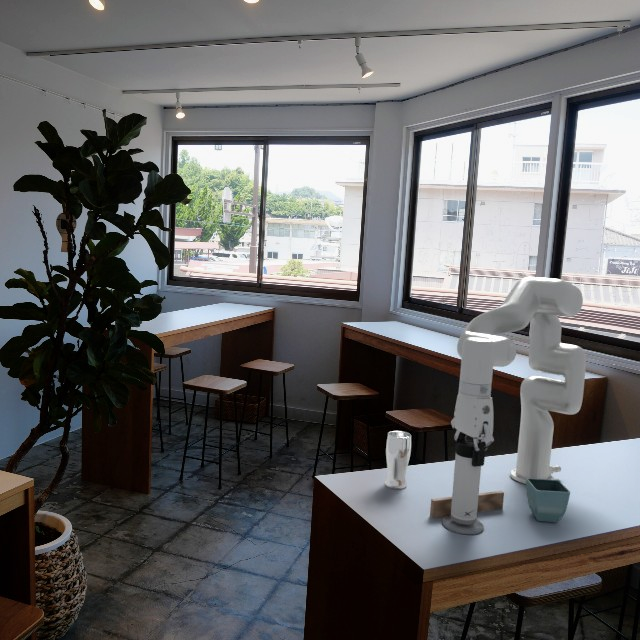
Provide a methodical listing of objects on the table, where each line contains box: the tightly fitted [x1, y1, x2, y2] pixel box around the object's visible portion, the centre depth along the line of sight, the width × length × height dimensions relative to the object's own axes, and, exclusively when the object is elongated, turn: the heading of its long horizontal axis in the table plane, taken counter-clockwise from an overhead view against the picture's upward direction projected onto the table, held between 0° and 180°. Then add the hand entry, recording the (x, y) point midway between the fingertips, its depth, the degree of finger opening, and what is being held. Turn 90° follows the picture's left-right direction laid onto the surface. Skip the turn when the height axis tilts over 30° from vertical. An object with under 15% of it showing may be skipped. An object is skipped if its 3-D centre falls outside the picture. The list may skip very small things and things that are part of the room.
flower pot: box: [525, 478, 571, 523], centre depth 162 cm, size 9×9×9 cm
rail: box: [429, 490, 505, 519], centre depth 163 cm, size 22×1×4 cm, turn 113°
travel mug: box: [451, 439, 482, 525], centre depth 153 cm, size 6×7×20 cm
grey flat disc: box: [441, 516, 485, 536], centre depth 155 cm, size 10×10×1 cm
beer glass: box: [384, 430, 412, 490], centre depth 178 cm, size 7×7×15 cm
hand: (468, 460), depth 153 cm, fingers closed on travel mug, 6 cm apart
